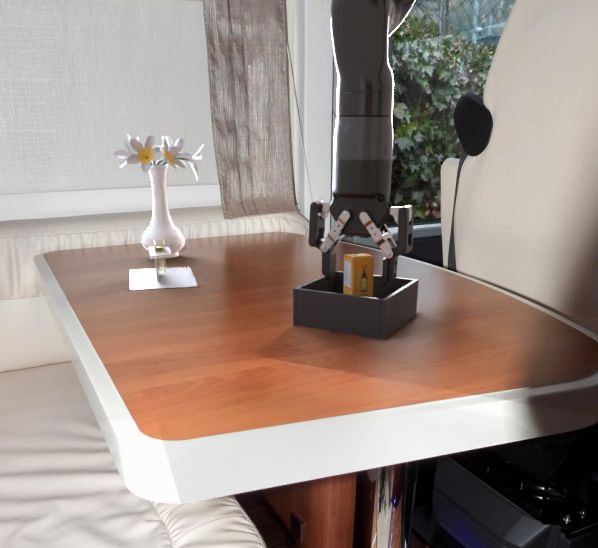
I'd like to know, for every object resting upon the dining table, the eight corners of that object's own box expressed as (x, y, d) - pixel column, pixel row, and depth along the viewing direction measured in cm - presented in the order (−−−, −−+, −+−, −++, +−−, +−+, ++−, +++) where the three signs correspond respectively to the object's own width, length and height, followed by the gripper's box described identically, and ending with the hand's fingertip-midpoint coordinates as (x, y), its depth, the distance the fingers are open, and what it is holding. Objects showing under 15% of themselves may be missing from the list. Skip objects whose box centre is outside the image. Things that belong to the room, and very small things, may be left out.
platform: (189, 266, 131) (187, 234, 128) (198, 286, 115) (195, 249, 112) (129, 269, 128) (126, 236, 126) (129, 290, 112) (125, 252, 110)
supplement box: (362, 321, 92) (365, 251, 88) (372, 328, 89) (376, 256, 85) (341, 323, 91) (343, 252, 87) (350, 330, 88) (353, 257, 84)
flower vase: (215, 258, 139) (209, 134, 129) (128, 264, 133) (115, 134, 123) (201, 248, 150) (195, 133, 140) (121, 253, 144) (108, 133, 134)
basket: (415, 324, 93) (418, 279, 90) (383, 350, 82) (385, 300, 80) (333, 313, 99) (334, 270, 96) (293, 335, 88) (292, 288, 85)
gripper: (425, 155, 81) (416, 282, 88) (324, 153, 87) (323, 272, 94) (406, 158, 75) (398, 293, 82) (299, 155, 81) (299, 282, 88)
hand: (357, 282), depth 88 cm, fingers open, 8 cm apart
